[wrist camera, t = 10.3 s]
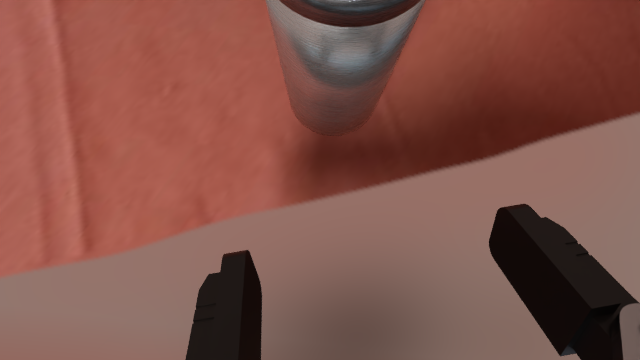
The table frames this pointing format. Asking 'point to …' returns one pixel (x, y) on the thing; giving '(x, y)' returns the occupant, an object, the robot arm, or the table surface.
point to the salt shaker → (339, 56)
